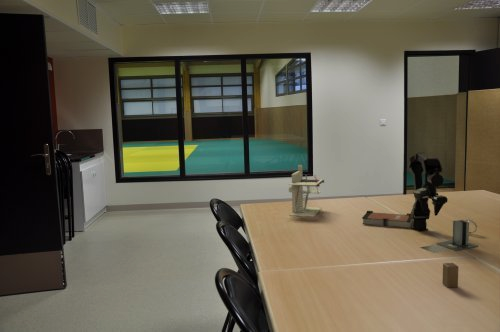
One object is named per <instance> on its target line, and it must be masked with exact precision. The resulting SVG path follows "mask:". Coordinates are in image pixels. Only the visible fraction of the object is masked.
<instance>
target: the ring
mask: <svg viewBox="0 0 500 332" xmlns="http://www.w3.org/2000/svg"><path fill="white" fill-rule="evenodd" d="M464 221H467V222H469V223H472V224H473V225H474V226H475V229H474V230H473V231H472V232H471V231H469V235H472V234H475V233H476V231H477V230H478V225H477V223H476V222H475V221H474V219H471V218H468V219H465V220H464Z"/></svg>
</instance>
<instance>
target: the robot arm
mask: <svg viewBox="0 0 500 332" xmlns="http://www.w3.org/2000/svg"><path fill="white" fill-rule="evenodd" d="M407 168H408V169H409V170H408V171H409V173H410V174H411V175H412V180H413V181H412V182H413V188H414V189H413V191H412V193H413V197H414V200H415V201H414V203H413V205H412V209H411V211H410V213H409V214H410V215H411V218H412V219H413V222H412V226H411V228H410V229H411V230H415V231H417V232H423V231H424V232H425V231H429V229H428V228H427V226H428V225H427V224H428V223H427V220H429V219H430V215H431V210H430V207H429V199H431V204H432V205H433V214H434V216H438V214H440V211H441V209H442V208H443V207H444V205H445V204H446V203H448V199H449V198H447V196H444V195H439V193H438V192H437V191H438V190H437V188H439V187H441V186H442V185H443V184H444V180H445V179H444V177H443V175H441V174H440V173H442V172H443V167H442V164H441V161H440V160H439V158H438V157H431V156H429V155H427V154H426V152H424V151H423V152H415V153H414V154H413V155H412V156H411V157H409V158H408V162H407ZM423 173H424V176H423ZM423 177H424V179H423Z"/></svg>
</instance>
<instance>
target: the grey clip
mask: <svg viewBox="0 0 500 332" xmlns="http://www.w3.org/2000/svg"><path fill="white" fill-rule="evenodd" d="M469 232H470V222H467V221H465V220H464V219H457V220H456V219H455V220H452V240H453V244H452V245H455V246H458V247H461V248H462V247H467V246H468V242H469V241H470V240H469V235H470V234H469ZM469 243H470V242H469Z"/></svg>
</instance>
